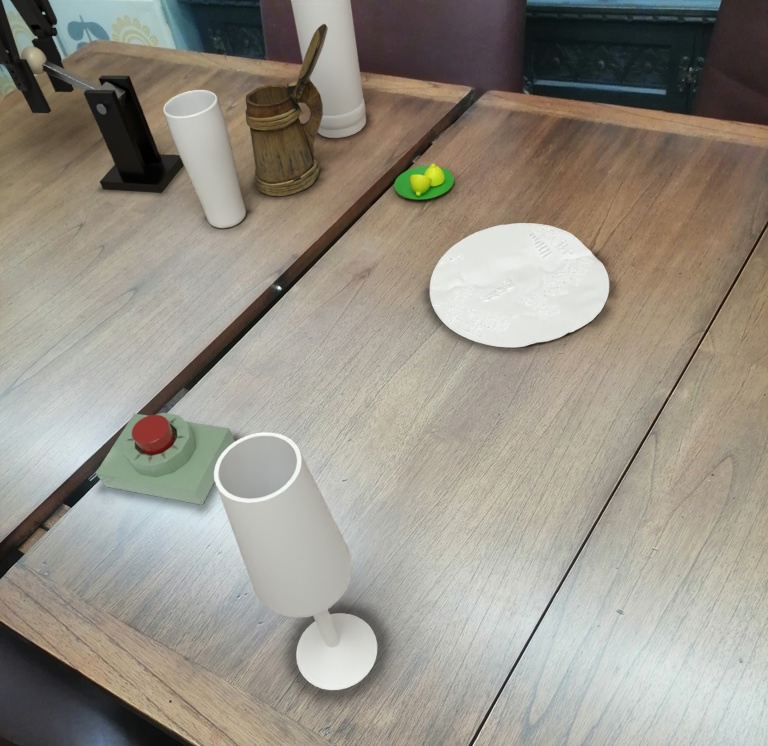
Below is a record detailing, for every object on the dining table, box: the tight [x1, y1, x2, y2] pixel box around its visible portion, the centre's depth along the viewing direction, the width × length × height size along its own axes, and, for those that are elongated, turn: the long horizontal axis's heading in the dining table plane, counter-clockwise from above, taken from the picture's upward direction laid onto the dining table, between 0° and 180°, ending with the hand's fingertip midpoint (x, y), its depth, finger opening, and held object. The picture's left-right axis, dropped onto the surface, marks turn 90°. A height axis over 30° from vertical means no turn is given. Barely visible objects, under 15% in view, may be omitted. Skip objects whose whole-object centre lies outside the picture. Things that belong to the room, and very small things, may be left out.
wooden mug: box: [244, 24, 328, 197], centre depth 91 cm, size 9×14×18 cm, turn 94°
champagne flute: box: [214, 431, 378, 691], centre depth 46 cm, size 7×7×24 cm
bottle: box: [290, 0, 367, 139], centre depth 93 cm, size 8×8×30 cm
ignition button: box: [132, 414, 175, 455], centre depth 66 cm, size 4×4×2 cm
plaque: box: [429, 222, 610, 348], centre depth 78 cm, size 20×20×2 cm
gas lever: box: [20, 45, 126, 109], centre depth 94 cm, size 14×3×3 cm, turn 73°
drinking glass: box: [162, 89, 247, 229], centre depth 88 cm, size 7×7×15 cm
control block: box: [95, 412, 236, 506], centre depth 68 cm, size 11×8×4 cm
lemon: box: [393, 163, 455, 200], centre depth 92 cm, size 8×8×3 cm
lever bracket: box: [83, 74, 184, 194], centre depth 98 cm, size 10×8×13 cm
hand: (53, 100), depth 97 cm, fingers open, 5 cm apart
